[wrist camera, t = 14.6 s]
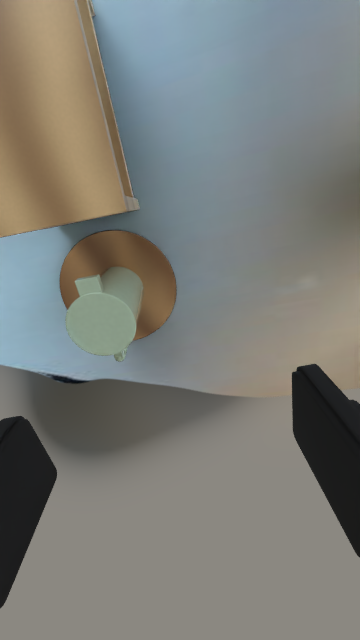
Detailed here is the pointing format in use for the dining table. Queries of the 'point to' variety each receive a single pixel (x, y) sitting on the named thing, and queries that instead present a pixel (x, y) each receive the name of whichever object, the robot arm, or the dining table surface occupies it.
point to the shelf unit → (56, 120)
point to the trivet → (129, 254)
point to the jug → (106, 312)
